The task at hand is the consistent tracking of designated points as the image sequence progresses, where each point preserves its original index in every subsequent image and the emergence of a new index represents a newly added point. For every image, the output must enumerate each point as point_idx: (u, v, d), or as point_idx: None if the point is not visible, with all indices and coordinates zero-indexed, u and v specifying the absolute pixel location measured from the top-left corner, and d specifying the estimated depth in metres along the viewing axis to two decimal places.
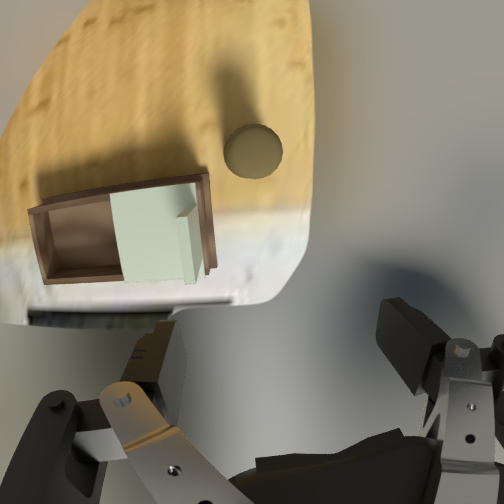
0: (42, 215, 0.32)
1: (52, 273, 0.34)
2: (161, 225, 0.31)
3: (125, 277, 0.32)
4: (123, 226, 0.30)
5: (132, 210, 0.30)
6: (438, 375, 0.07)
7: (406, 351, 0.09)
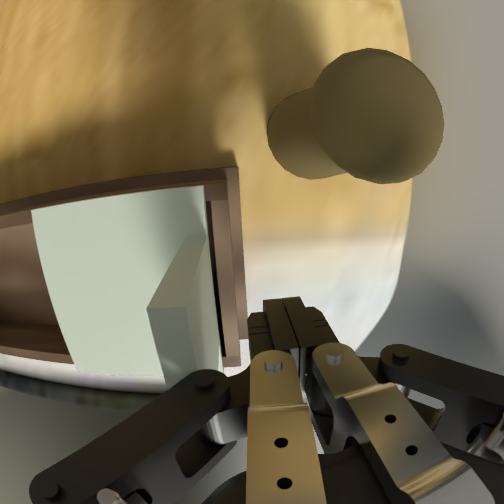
0: None
1: None
2: (130, 278, 0.14)
3: (76, 363, 0.15)
4: (59, 276, 0.13)
5: (71, 245, 0.13)
6: (309, 379, 0.08)
7: None
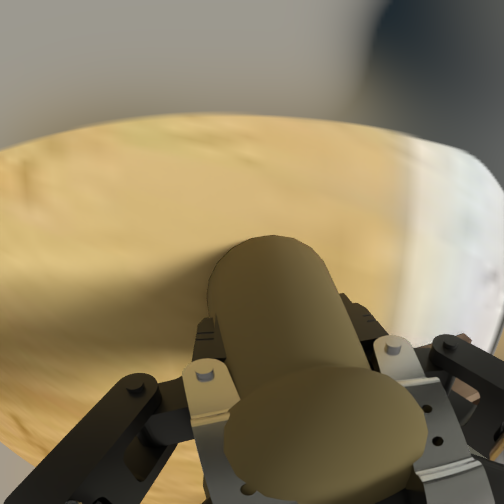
0: None
1: None
2: None
3: None
4: None
5: None
6: None
7: None
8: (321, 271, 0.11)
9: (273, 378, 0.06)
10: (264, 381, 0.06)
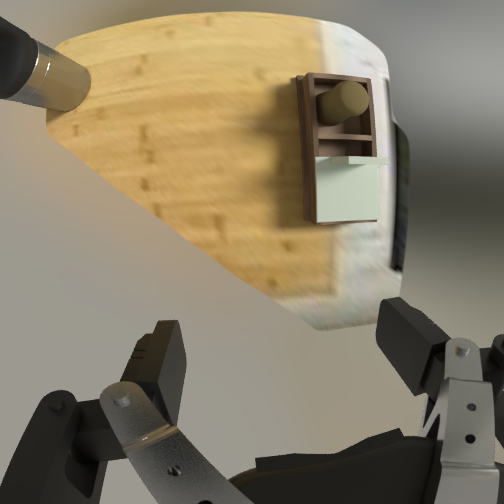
0: None
1: None
2: (343, 184, 0.42)
3: (375, 218, 0.43)
4: (341, 213, 0.43)
5: (331, 205, 0.42)
6: (438, 375, 0.07)
7: (406, 351, 0.09)
8: None
9: None
10: None
